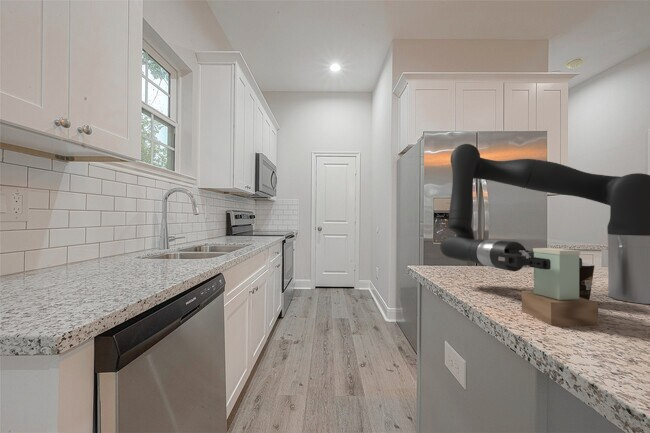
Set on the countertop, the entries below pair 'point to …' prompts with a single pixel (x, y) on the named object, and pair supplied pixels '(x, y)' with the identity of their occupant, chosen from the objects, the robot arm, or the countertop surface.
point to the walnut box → (560, 310)
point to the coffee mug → (585, 280)
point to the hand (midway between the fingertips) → (565, 263)
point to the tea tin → (558, 274)
